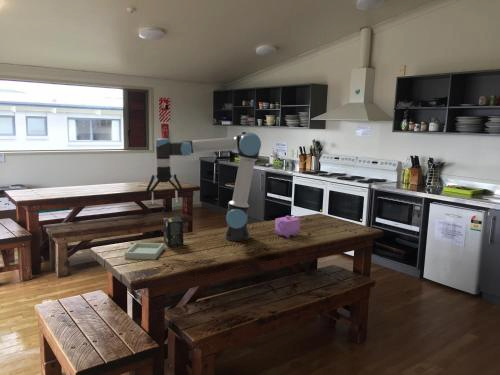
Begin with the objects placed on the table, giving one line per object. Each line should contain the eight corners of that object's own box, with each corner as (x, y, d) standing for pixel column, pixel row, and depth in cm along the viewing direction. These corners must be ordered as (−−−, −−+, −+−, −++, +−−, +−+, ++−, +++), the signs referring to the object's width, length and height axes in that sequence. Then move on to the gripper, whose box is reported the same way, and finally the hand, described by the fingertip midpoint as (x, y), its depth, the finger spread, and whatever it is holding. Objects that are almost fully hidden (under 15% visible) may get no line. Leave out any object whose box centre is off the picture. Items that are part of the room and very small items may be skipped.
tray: (164, 248, 237) (163, 243, 237) (155, 259, 219) (155, 253, 219) (135, 247, 238) (135, 242, 237) (124, 258, 220) (124, 252, 220)
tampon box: (163, 241, 250) (163, 217, 248) (179, 240, 254) (178, 216, 251) (167, 247, 240) (167, 221, 238) (183, 245, 244) (183, 220, 241)
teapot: (283, 239, 259) (284, 219, 257) (272, 235, 267) (272, 216, 265) (305, 234, 272) (306, 215, 270) (294, 230, 280) (294, 212, 277)
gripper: (184, 164, 248) (185, 200, 252) (140, 166, 240) (141, 203, 244) (186, 165, 241) (187, 202, 245) (141, 167, 233) (143, 205, 237)
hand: (164, 202), depth 244 cm, fingers open, 13 cm apart
